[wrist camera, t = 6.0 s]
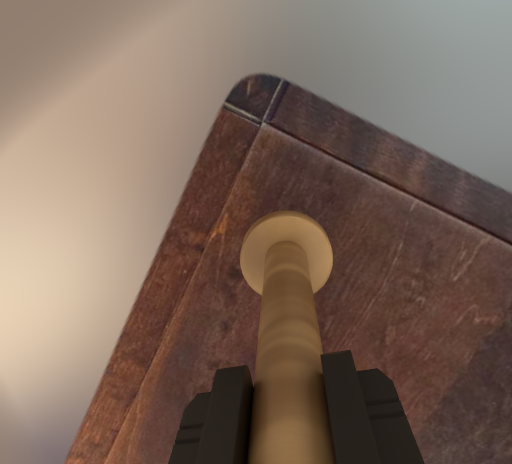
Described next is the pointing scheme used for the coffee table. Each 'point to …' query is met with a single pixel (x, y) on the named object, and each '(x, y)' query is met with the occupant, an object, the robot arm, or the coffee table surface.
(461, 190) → the coffee table surface
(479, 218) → the coffee table surface
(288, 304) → the tan tall turned piece
